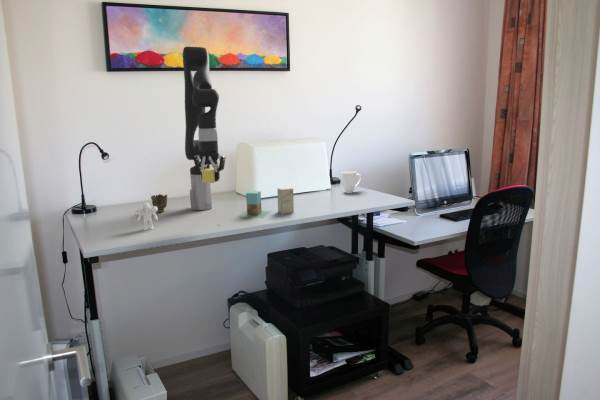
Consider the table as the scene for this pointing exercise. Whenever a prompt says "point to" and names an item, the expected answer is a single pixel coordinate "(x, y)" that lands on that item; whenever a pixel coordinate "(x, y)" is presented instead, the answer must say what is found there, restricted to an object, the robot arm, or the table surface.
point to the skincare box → (285, 200)
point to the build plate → (254, 215)
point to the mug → (349, 180)
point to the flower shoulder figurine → (147, 214)
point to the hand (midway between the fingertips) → (210, 180)
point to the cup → (159, 202)
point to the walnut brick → (254, 209)
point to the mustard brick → (208, 176)
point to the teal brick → (253, 197)
